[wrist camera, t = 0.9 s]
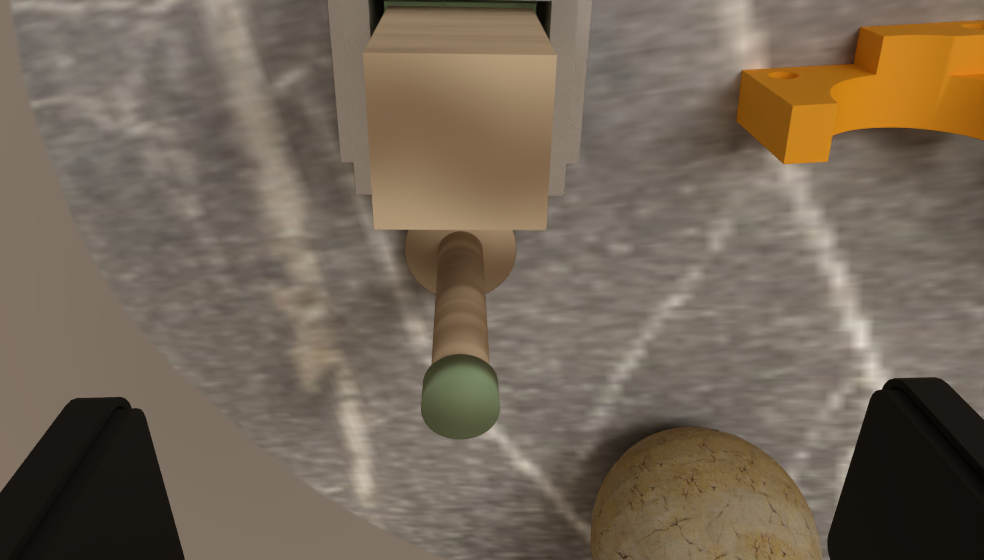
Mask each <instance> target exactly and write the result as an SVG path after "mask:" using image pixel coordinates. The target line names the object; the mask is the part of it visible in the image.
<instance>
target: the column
mask: <svg viewBox="0 0 984 560" xmlns="http://www.w3.org/2000/svg"><path fill="white" fill-rule="evenodd" d="M536 5H537V3H536V2H535V1H522V0H384V12H385V13H384V15H383V16H382V18H381V20H380V22H379V24H378V26H377V27H376V29H375V31H374V33H373V35H372V37H371V39H370V40H369V42H368V44H367V46H366V48H365V50H364V51H363V63H364V78H365V94H366V110H367V126H368V141H369V157H370V173H371V189H372V204H373V220H374V230H546V223H547V207H548V191H549V175H550V160H551V144H552V128H553V112H554V96H555V80H556V64H557V54H556V52H555V50H554V48H553V47H552V45H551V43H550V41H549V39H548V37H547V35H546V33H545V31H544V29H543V27H542V26H541V24H540V22H539V20H538V18H537V16H536Z"/></svg>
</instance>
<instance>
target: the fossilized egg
mask: <svg viewBox="0 0 984 560" xmlns="http://www.w3.org/2000/svg"><path fill="white" fill-rule="evenodd" d="M591 550H592V556H593V560H822V549H821V544H820V540H819V536H818V532H817V529H816V525H815V522H814V518H813V515H812V513H811V511H810V509H809V507H808V504H807V502H806V501H805V499H804V497H803V495H802V493H801V492H800V490H799V489H798V487H797V486H796V484H795V483H794V481H793V480H792V479H791V477H790V476H789V475H788V474H787V473H786V472H785V470H784V469H783V468H782V467H781V466H780V465H779V464H778V463H777V462H776V461H775V460H773V459H772V458H771V457H770V456H769V455H768V454H766V453H765V452H764V451H762V450H761V449H759V448H758V447H756V446H754V445H752V444H751V443H749V442H747V441H745V440H743V439H742V438H740V437H738V436H736V435H732V434H729V433H726V432H722V431H718V430H715V429H709V428H702V427H678V428H673V429H668V430H664V431H661V432H658V433H655V434H652V435H650V436H648V437H646V438H644V439H642V440H641V441H639V442H637V443H636V444H635V445H633V446H632V447H631V448H629V449H628V450H627V451H626V452H625V453H624V454H623V455H622V456H621V457H620V458H619V459H618V460H617V462H616V463H615V464H614V465H613V466H612V468H611V469H610V470H609V472H608V473H607V475H606V477H605V478H604V480H603V482H602V484H601V487H600V490H599V492H598V495H597V498H596V501H595V505H594V508H593V511H592V523H591Z"/></svg>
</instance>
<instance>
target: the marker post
mask: <svg viewBox="0 0 984 560" xmlns="http://www.w3.org/2000/svg"><path fill="white" fill-rule="evenodd" d="M405 258H406V262H407V265H408V267H409V270H410V271H411V273H412V275H413V276H414V277H415V279H416V280H417V281H418V282H419V283H420V284H421V285H422V286H423V287H425V288H426V289H427V290H429V291H431V292H433V293H434V294H436V299H435V316H434V333H433V349H432V365H431V366H430V367H429V369H428V370H427V372H426V373H425V376H424V379H423V388H422V402H421V413H422V417H423V419H424V421H425V423H426V424H427V426H428V427H429V428H430V429H431V430H433V431H434V432H436V433H437V434H439V435H441V436H444V437H447V438H451V439H469V438H473V437H477V436H479V435H481V434H483V433H485V432H486V431H488V430H489V429H490V428H491V427H492V426H493V425H494V424H495V422H496V421H497V419H498V416H499V412H500V402H499V388H498V379H497V375H496V373H495V371H494V369H493V368H492V367H491V366H490V365H489V348H488V330H487V313H486V296H485V294H487V293H489V292H490V291H492V290H494V289H495V288H497V287H498V286H499V285H500V284H501V283H502V282H503V281H504V280H505V279H506V278H507V276H508V275H509V273H510V272H511V270H512V267H513V265H514V262H515V258H516V242H515V235H514V230H407V235H406V241H405Z"/></svg>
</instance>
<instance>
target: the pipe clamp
mask: <svg viewBox="0 0 984 560" xmlns="http://www.w3.org/2000/svg"><path fill="white" fill-rule="evenodd" d="M736 121H737V122H738V123H739V124H740V125H741V126H742V127H743V128H745V129H746V130H747V131H748V132H749V133H750V134H751V135H752V136H753V137H754V138H756V139H757V140H758V141H759V142H760V143H761V144H762V145H763V146H764V147H765V148H767V149H768V150H769V151H770V152H771V153H772V154H773V155H774V156H775V157H776V158H778V159H779V160H780V161H781V162H782V163H783V164H794V163H811V162H828V157H829V152H830V147H831V141H832V136H833V135H835V134H838V133H842V132H846V131H851V130H857V129H866V128H883V127H898V128H917V129H928V130H936V131H943V132H949V133H955V134H960V135H965V136H969V137H973V138H977V139H981V140H984V20H978V21H961V22H943V23H925V24H907V25H889V26H871V27H860V32H859V37H858V43H857V48H856V53H855V58H854V63H853V64H842V65H824V66H807V67H789V68H771V69H754V70H742V78H741V86H740V95H739V103H738V111H737V120H736Z"/></svg>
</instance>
